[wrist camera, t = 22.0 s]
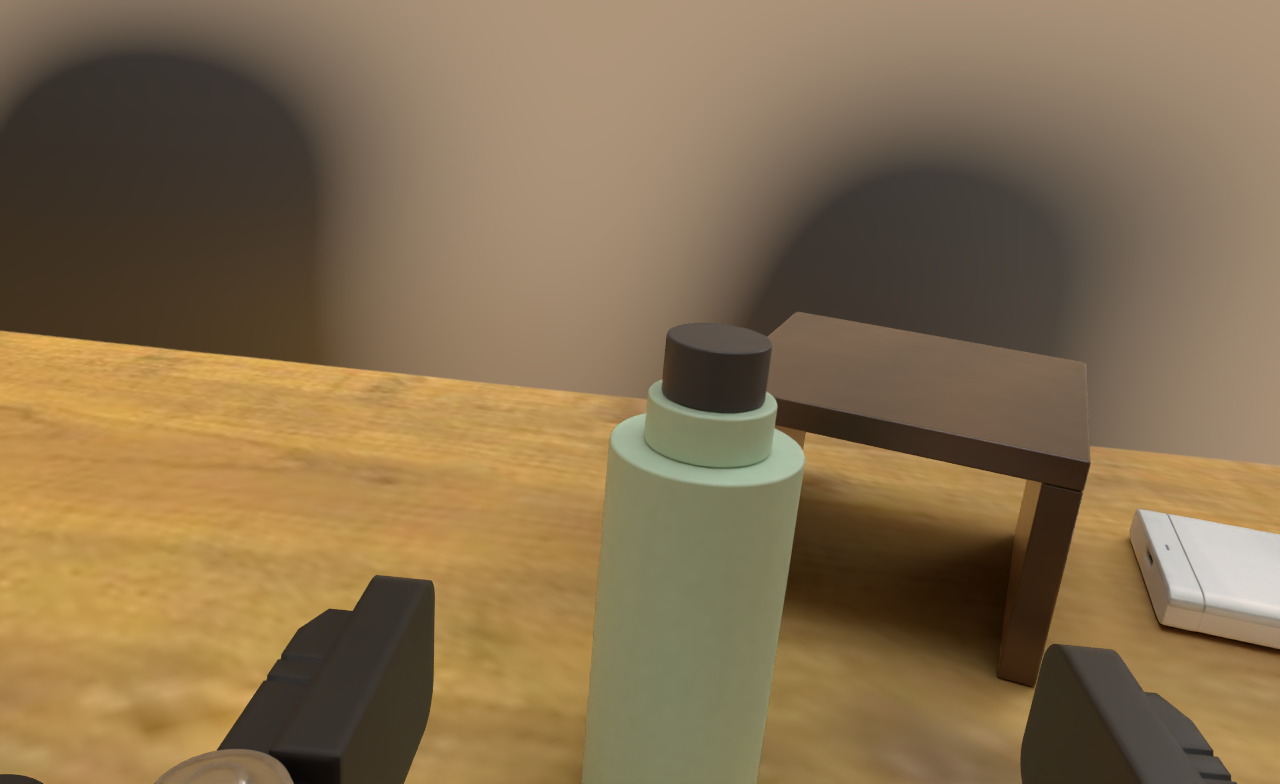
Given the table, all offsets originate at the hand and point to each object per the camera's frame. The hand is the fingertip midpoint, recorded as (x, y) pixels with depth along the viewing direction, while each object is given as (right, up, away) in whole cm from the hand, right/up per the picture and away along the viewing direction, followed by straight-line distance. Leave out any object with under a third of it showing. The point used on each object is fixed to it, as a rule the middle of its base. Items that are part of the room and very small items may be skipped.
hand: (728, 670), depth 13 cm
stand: (+8, -3, +27) cm, 29 cm away
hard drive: (+25, -5, +26) cm, 37 cm away
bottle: (0, -7, +14) cm, 16 cm away
